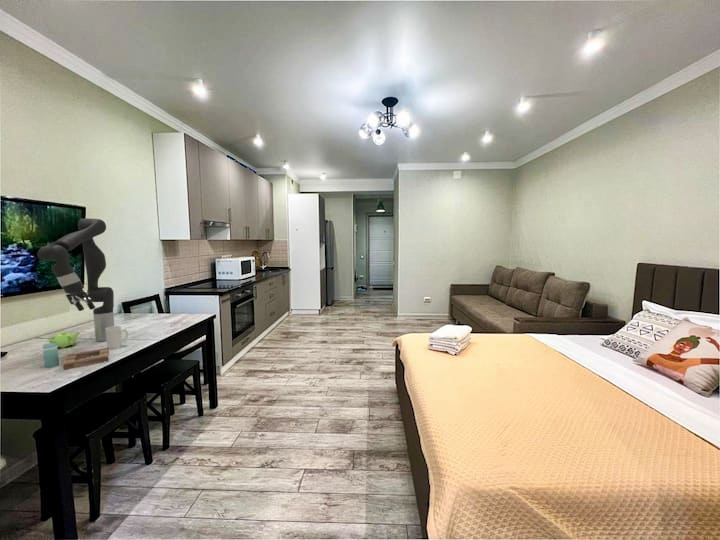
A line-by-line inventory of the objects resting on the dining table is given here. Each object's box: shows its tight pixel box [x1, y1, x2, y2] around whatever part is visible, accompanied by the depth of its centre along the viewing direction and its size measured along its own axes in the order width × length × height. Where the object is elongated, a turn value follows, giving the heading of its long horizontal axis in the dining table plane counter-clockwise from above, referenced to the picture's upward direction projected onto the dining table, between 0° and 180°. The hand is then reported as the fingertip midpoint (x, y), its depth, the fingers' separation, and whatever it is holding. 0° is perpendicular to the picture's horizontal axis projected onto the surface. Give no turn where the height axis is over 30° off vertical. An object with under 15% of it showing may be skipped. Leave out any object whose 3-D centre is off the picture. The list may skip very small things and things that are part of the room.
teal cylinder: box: [42, 342, 60, 369], centre depth 138 cm, size 5×5×11 cm
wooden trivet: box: [62, 347, 110, 371], centre depth 146 cm, size 16×16×2 cm
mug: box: [106, 325, 129, 350], centre depth 164 cm, size 10×7×12 cm, turn 114°
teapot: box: [47, 331, 80, 349], centre depth 164 cm, size 11×12×8 cm
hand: (87, 309), depth 151 cm, fingers open, 8 cm apart
